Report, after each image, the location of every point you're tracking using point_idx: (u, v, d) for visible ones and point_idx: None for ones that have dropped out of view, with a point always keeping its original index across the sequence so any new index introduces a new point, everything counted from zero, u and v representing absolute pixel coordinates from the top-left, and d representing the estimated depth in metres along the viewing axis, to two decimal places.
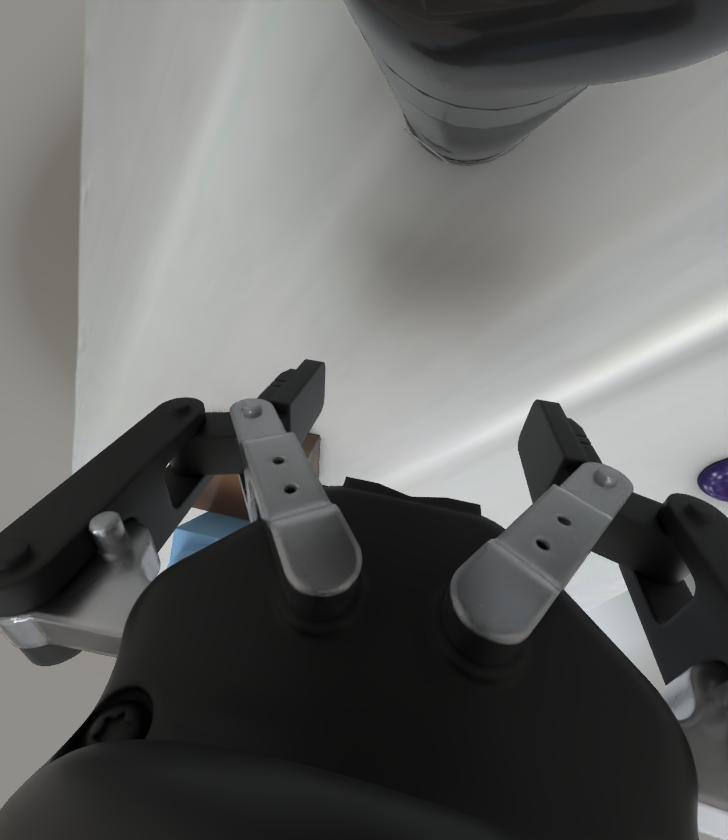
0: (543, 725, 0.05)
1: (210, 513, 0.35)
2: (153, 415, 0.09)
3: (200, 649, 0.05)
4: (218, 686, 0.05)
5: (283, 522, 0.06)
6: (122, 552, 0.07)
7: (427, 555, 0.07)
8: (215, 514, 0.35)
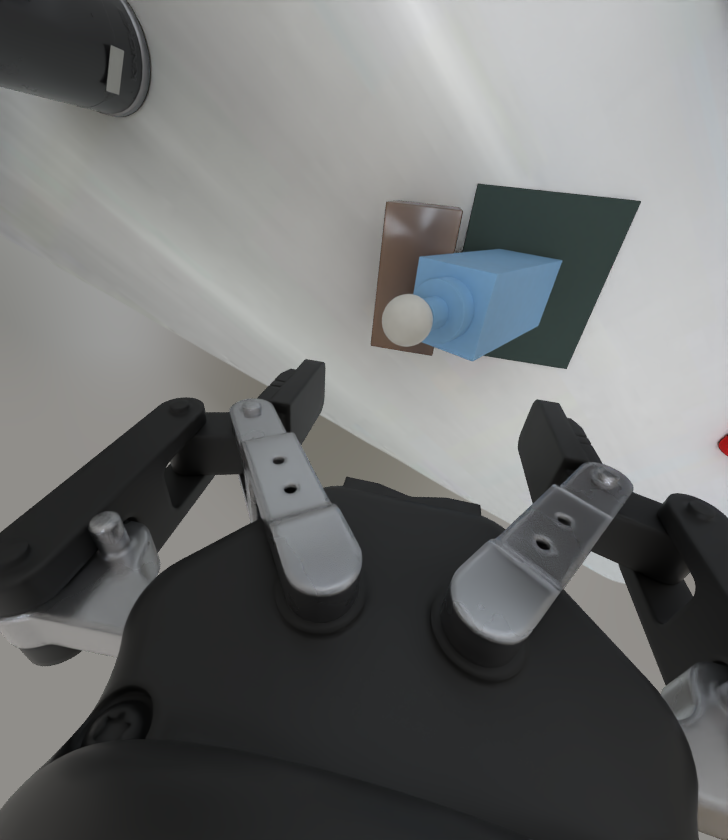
0: (543, 725, 0.05)
1: None
2: (153, 415, 0.09)
3: (200, 649, 0.05)
4: (218, 686, 0.05)
5: (283, 522, 0.06)
6: (122, 552, 0.07)
7: (427, 555, 0.07)
8: None
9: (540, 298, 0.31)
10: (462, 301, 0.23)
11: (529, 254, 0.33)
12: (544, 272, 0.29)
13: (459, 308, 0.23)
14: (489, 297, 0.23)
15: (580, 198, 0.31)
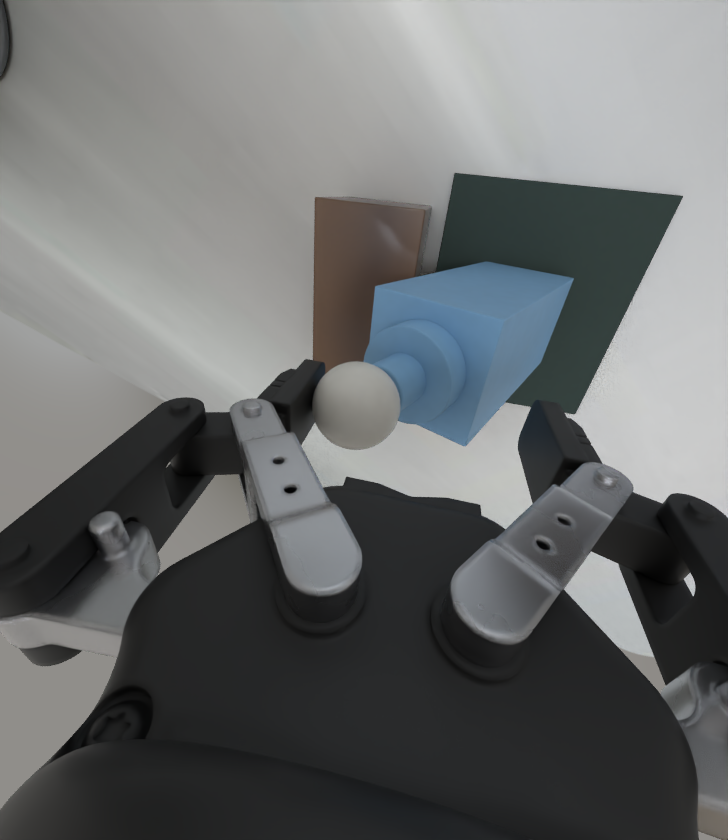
0: (543, 725, 0.05)
1: None
2: (153, 415, 0.09)
3: (200, 649, 0.05)
4: (218, 686, 0.05)
5: (283, 522, 0.06)
6: (122, 552, 0.07)
7: (427, 555, 0.07)
8: None
9: (547, 331, 0.23)
10: (448, 365, 0.14)
11: (527, 269, 0.24)
12: (555, 298, 0.20)
13: (443, 375, 0.14)
14: (490, 356, 0.14)
15: (596, 192, 0.23)
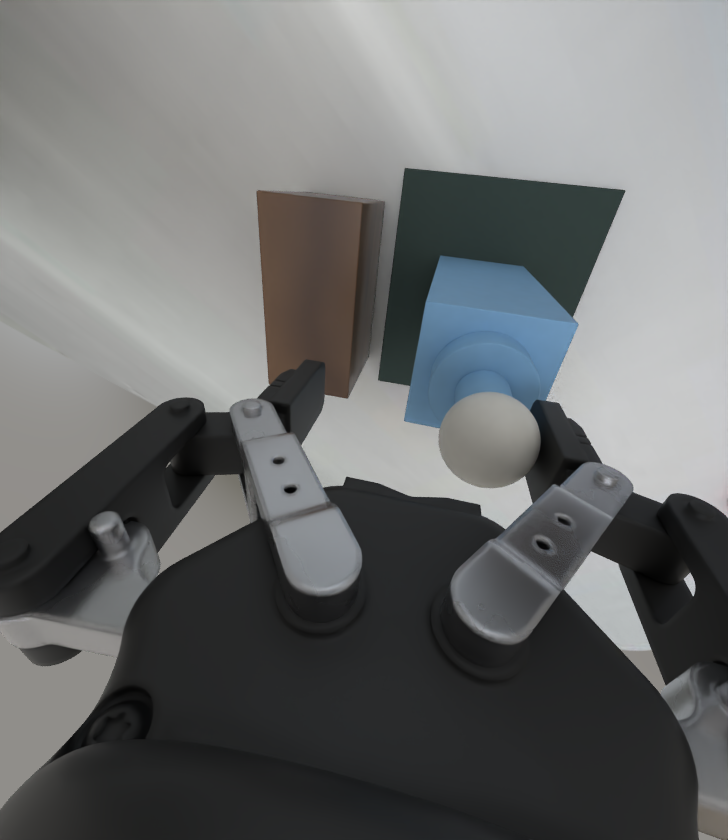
0: (543, 725, 0.05)
1: None
2: (153, 415, 0.09)
3: (200, 649, 0.05)
4: (218, 686, 0.05)
5: (283, 522, 0.06)
6: (122, 552, 0.07)
7: (427, 555, 0.07)
8: None
9: None
10: (537, 375, 0.14)
11: (482, 261, 0.26)
12: None
13: (531, 386, 0.14)
14: (561, 358, 0.15)
15: (542, 186, 0.23)
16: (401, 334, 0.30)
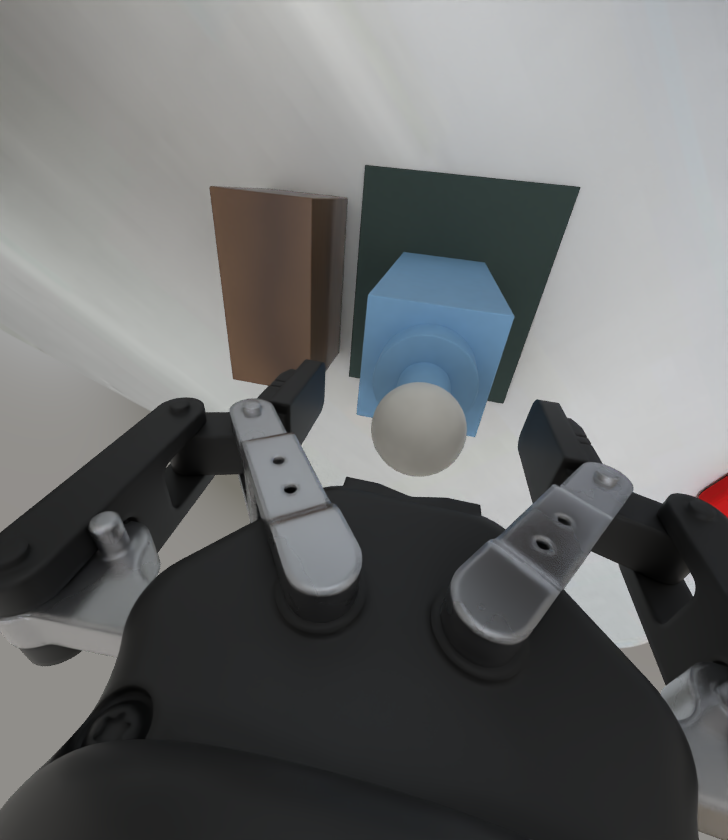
0: (543, 725, 0.05)
1: None
2: (153, 415, 0.09)
3: (200, 649, 0.05)
4: (218, 686, 0.05)
5: (283, 522, 0.06)
6: (122, 552, 0.07)
7: (427, 555, 0.07)
8: None
9: None
10: (474, 367, 0.14)
11: (444, 257, 0.26)
12: None
13: (470, 377, 0.14)
14: (501, 350, 0.15)
15: (499, 183, 0.23)
16: None
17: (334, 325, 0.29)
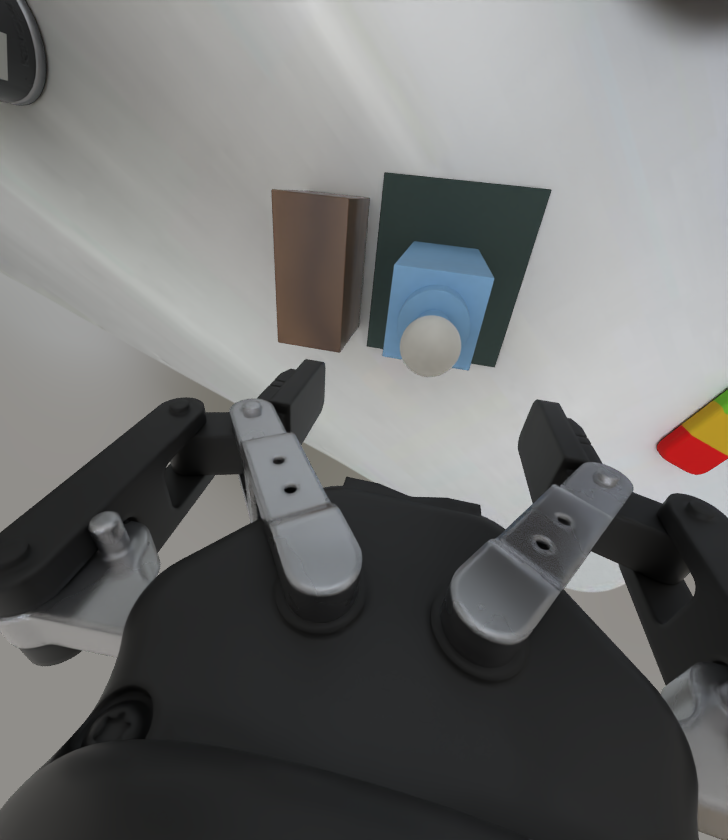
0: (543, 725, 0.05)
1: None
2: (153, 415, 0.09)
3: (200, 649, 0.05)
4: (218, 686, 0.05)
5: (283, 522, 0.06)
6: (122, 552, 0.07)
7: (427, 555, 0.07)
8: None
9: None
10: (467, 312, 0.21)
11: (446, 245, 0.33)
12: None
13: (464, 320, 0.21)
14: (486, 303, 0.22)
15: (489, 186, 0.30)
16: (384, 306, 0.37)
17: (357, 301, 0.35)
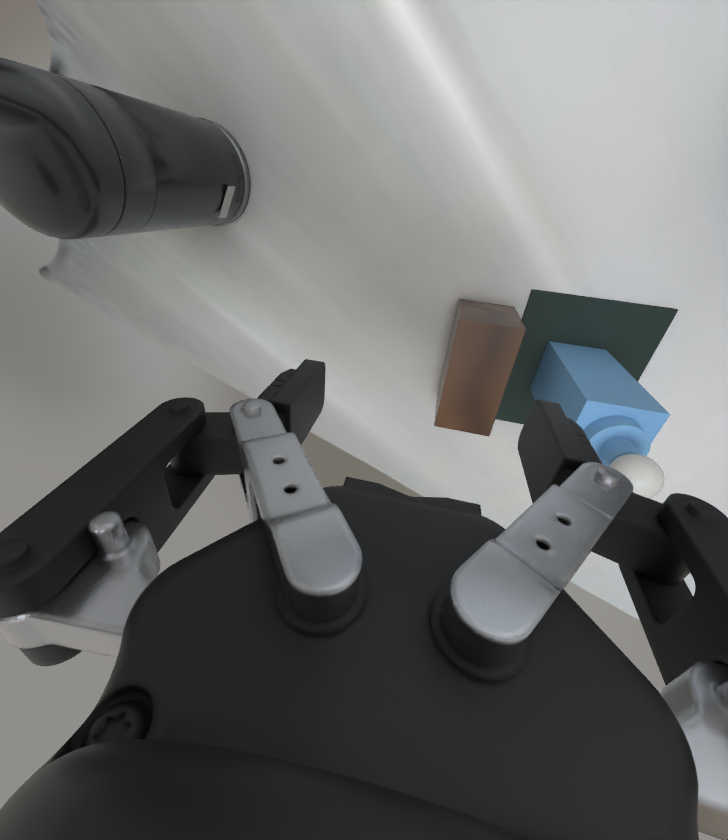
0: (543, 725, 0.05)
1: None
2: (153, 415, 0.09)
3: (200, 649, 0.05)
4: (218, 686, 0.05)
5: (283, 522, 0.06)
6: (122, 552, 0.07)
7: (427, 555, 0.07)
8: None
9: None
10: (649, 441, 0.27)
11: (578, 346, 0.39)
12: None
13: (645, 446, 0.27)
14: (658, 430, 0.28)
15: (623, 305, 0.36)
16: (512, 388, 0.43)
17: None
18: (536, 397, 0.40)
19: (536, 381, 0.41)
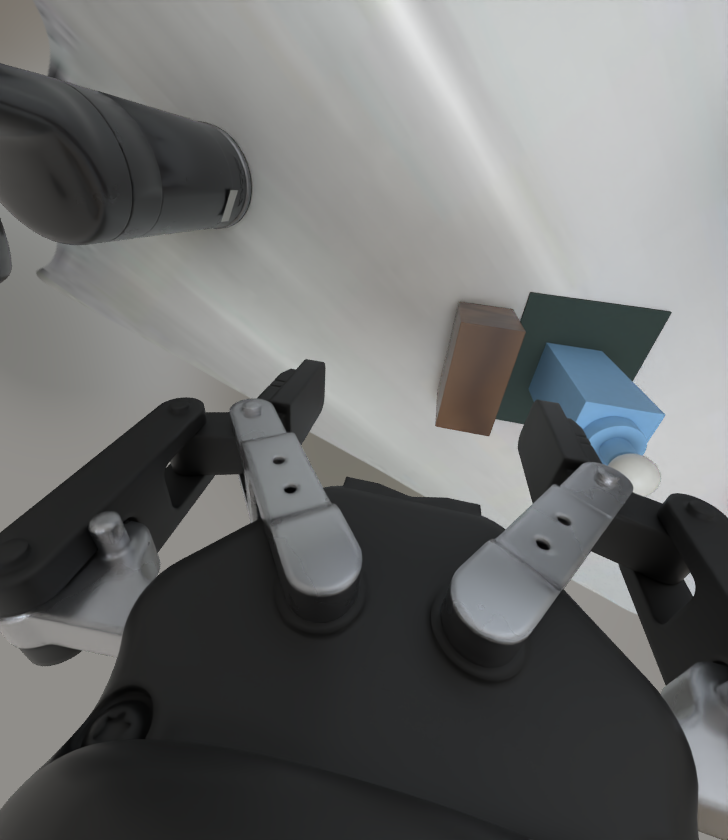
0: (543, 725, 0.05)
1: None
2: (153, 415, 0.09)
3: (200, 649, 0.05)
4: (218, 686, 0.05)
5: (283, 522, 0.06)
6: (122, 552, 0.07)
7: (427, 555, 0.07)
8: None
9: None
10: (646, 440, 0.28)
11: (575, 347, 0.40)
12: None
13: (642, 445, 0.28)
14: (654, 430, 0.29)
15: (619, 307, 0.37)
16: (510, 388, 0.44)
17: None
18: (534, 397, 0.40)
19: (534, 382, 0.42)
